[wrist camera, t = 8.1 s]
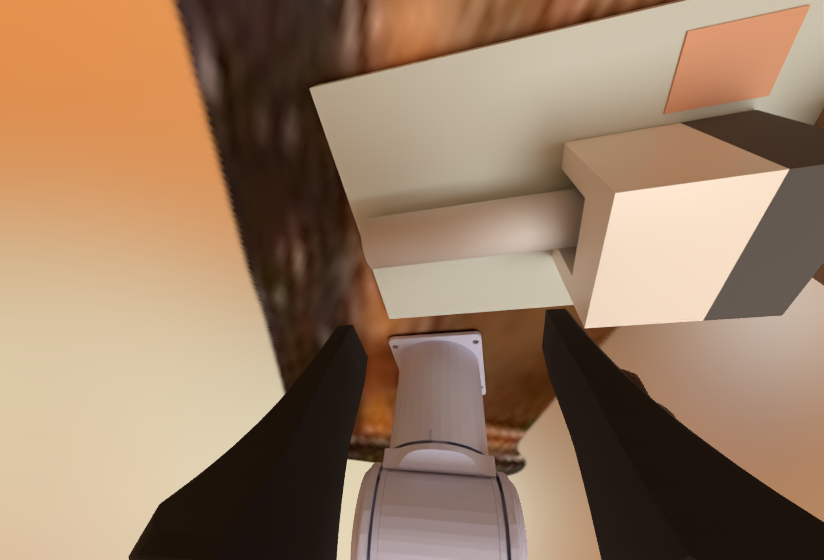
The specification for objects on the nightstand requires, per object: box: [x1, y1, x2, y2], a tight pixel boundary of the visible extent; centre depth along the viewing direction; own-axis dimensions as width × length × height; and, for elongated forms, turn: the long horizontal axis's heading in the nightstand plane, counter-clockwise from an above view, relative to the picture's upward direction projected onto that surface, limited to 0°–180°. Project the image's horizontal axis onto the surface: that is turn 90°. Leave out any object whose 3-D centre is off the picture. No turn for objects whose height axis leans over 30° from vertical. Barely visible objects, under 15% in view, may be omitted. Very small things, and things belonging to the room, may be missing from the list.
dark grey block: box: [682, 110, 824, 320], centre depth 14 cm, size 7×3×6 cm, turn 11°
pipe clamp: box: [309, 0, 824, 319], centre depth 16 cm, size 16×26×6 cm, turn 101°
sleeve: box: [552, 123, 789, 328], centre depth 15 cm, size 7×5×6 cm
